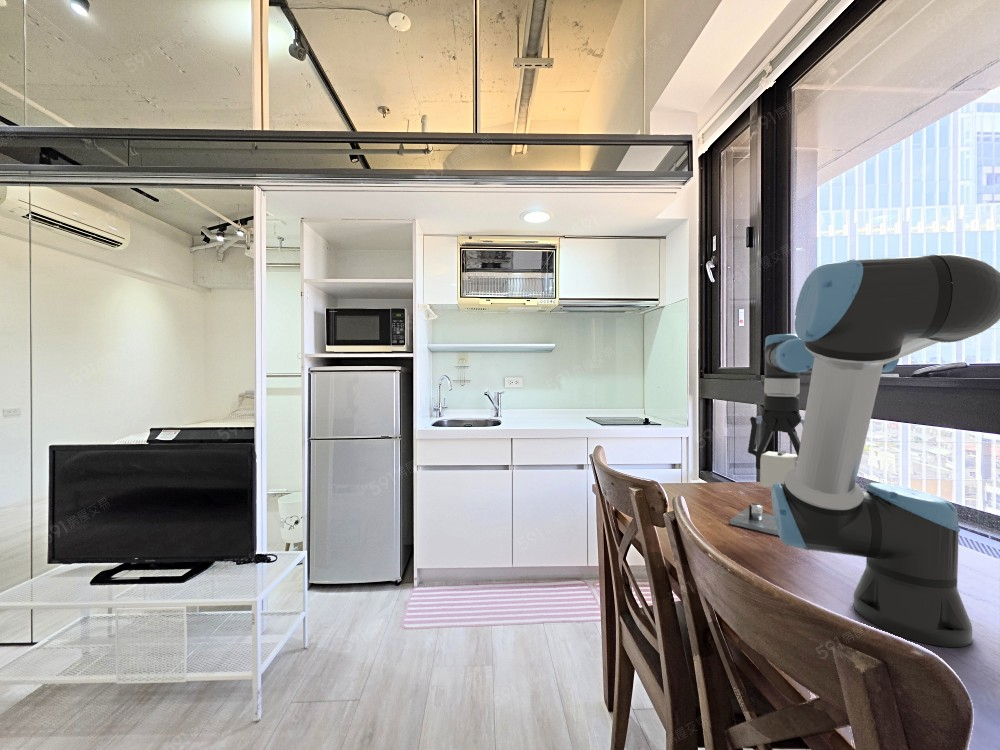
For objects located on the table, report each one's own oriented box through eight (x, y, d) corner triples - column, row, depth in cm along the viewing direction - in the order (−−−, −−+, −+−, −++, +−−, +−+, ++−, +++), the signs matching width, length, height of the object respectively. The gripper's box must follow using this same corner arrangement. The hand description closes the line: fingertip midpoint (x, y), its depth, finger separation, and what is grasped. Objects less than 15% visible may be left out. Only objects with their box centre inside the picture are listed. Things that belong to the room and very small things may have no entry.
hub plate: (787, 537, 113) (787, 517, 113) (729, 523, 123) (730, 505, 123) (798, 524, 123) (798, 505, 123) (744, 512, 133) (744, 495, 133)
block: (793, 491, 104) (793, 456, 103) (760, 485, 109) (761, 452, 108) (800, 485, 109) (800, 452, 109) (768, 480, 114) (769, 448, 114)
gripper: (833, 396, 104) (831, 490, 104) (742, 393, 118) (741, 475, 118) (828, 397, 99) (826, 496, 99) (734, 394, 113) (732, 480, 113)
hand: (780, 484), depth 109 cm, fingers closed on block, 7 cm apart
